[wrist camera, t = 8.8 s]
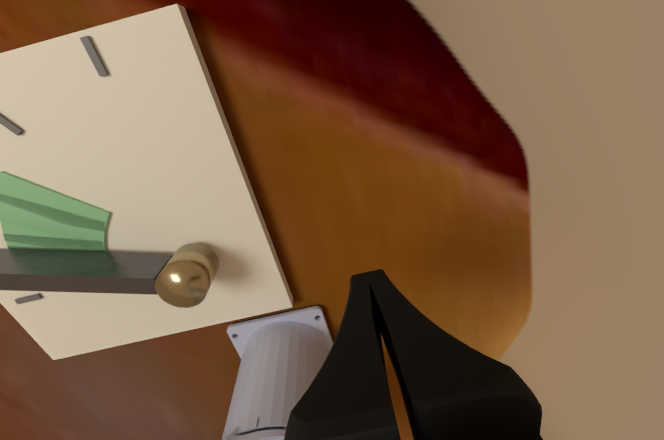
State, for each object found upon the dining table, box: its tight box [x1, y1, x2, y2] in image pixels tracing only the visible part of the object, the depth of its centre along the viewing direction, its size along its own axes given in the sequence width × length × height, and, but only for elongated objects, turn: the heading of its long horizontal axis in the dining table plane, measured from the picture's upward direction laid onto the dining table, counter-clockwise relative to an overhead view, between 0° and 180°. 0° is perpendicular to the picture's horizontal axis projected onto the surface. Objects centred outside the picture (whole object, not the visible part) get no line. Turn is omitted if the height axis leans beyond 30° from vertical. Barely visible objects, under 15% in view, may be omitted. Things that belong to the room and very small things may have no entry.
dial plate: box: [0, 4, 293, 360], centre depth 21 cm, size 20×20×1 cm
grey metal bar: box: [0, 243, 219, 308], centre depth 20 cm, size 14×3×3 cm, turn 85°
